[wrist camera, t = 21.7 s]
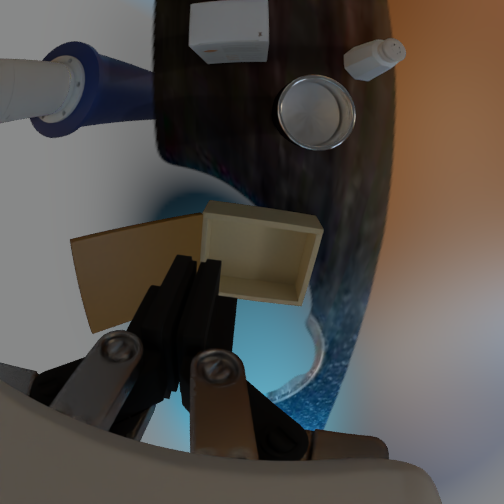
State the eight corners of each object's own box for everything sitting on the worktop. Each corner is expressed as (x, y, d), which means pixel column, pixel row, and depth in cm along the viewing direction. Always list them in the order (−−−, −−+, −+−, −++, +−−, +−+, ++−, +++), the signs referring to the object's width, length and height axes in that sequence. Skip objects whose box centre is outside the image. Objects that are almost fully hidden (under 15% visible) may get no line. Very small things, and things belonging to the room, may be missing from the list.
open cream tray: (315, 215, 39) (323, 229, 35) (297, 286, 45) (301, 306, 40) (209, 199, 38) (202, 212, 34) (203, 274, 44) (197, 293, 40)
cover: (70, 242, 22) (65, 224, 25) (92, 334, 28) (82, 310, 31) (203, 214, 33) (183, 202, 36) (198, 296, 39) (181, 279, 42)
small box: (266, 28, 27) (270, -3, 17) (267, 63, 29) (270, 42, 20) (206, 30, 27) (189, 2, 18) (206, 64, 29) (187, 46, 20)
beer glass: (269, 140, 34) (277, 153, 21) (266, 91, 31) (272, 71, 18) (320, 139, 34) (358, 153, 21) (318, 91, 31) (356, 75, 18)
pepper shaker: (382, 59, 28) (421, 46, 18) (370, 88, 30) (409, 81, 20) (349, 41, 27) (380, 18, 17) (336, 70, 29) (366, 54, 20)
